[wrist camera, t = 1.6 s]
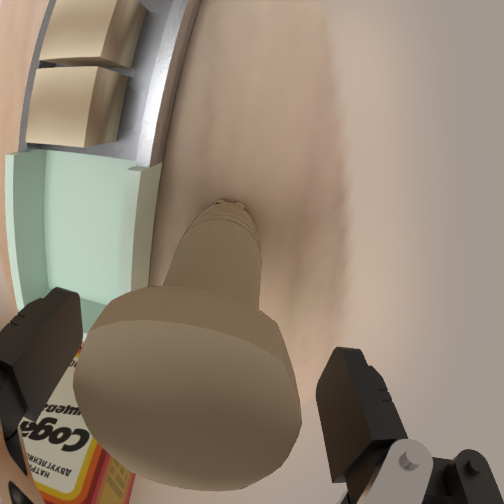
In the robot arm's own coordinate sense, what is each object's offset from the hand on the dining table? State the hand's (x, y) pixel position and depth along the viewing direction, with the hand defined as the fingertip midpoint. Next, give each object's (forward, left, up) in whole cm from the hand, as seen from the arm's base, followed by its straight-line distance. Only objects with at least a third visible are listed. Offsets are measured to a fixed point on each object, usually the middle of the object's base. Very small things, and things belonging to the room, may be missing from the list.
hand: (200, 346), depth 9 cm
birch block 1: (-11, -10, -10) cm, 18 cm away
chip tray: (+3, -10, -12) cm, 15 cm away
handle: (0, 0, -12) cm, 12 cm away
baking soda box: (+17, -9, -12) cm, 22 cm away
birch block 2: (-6, -10, -10) cm, 15 cm away
